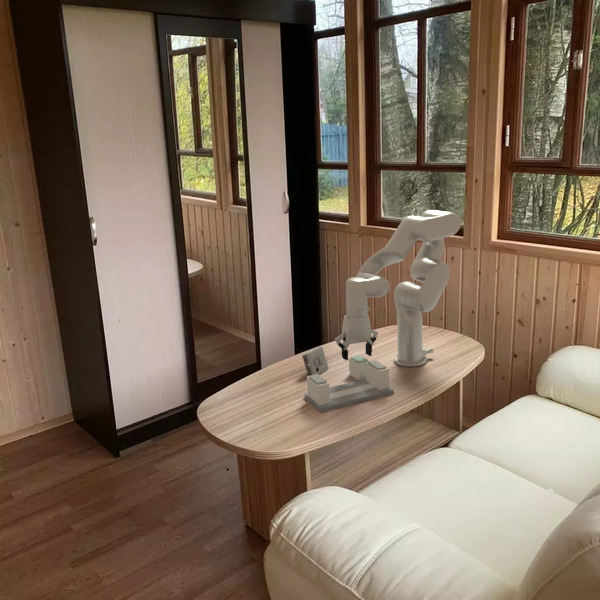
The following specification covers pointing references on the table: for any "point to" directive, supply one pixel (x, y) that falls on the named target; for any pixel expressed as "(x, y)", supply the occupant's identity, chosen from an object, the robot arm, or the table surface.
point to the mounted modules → (374, 375)
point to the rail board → (350, 394)
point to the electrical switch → (315, 361)
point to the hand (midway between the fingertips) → (357, 357)
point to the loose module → (357, 367)
